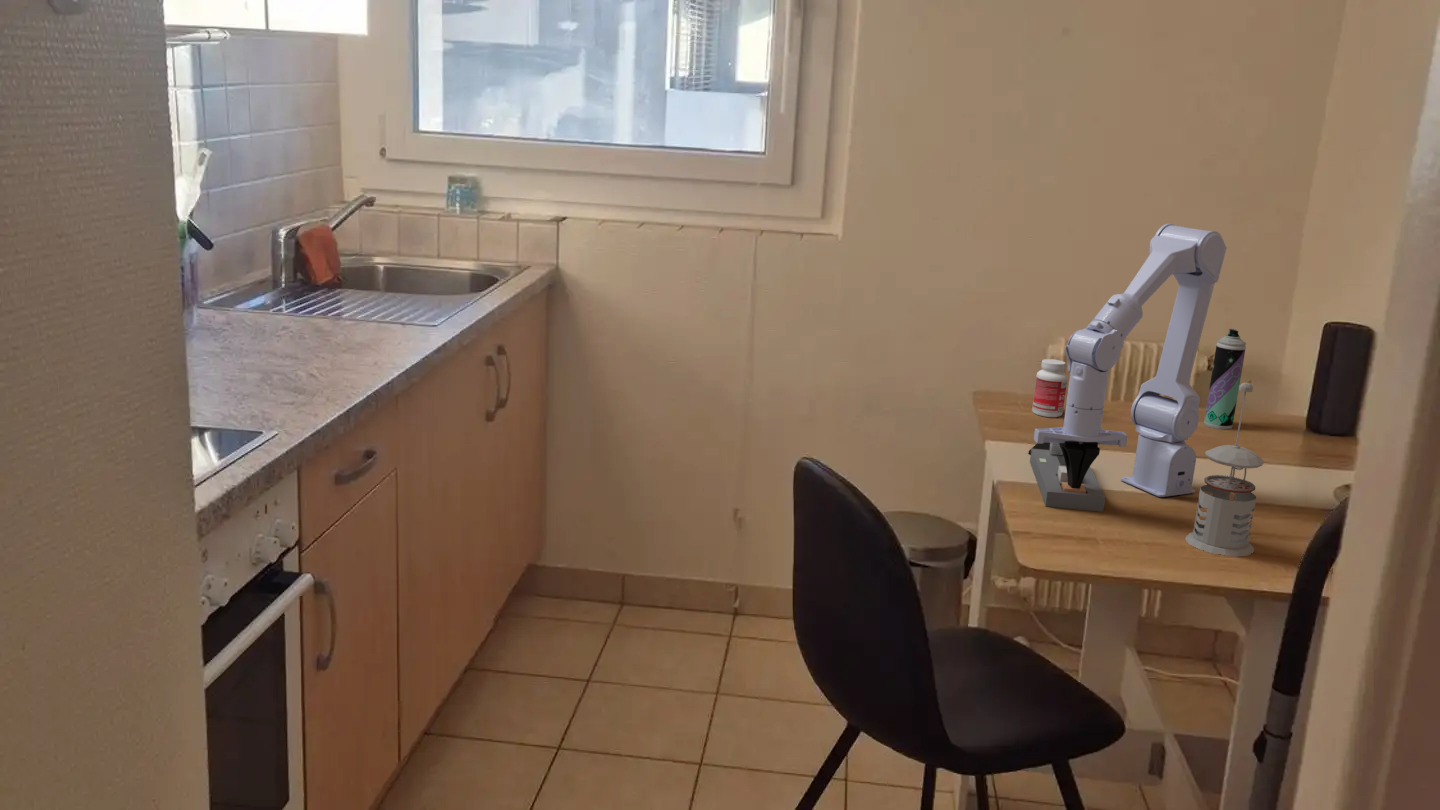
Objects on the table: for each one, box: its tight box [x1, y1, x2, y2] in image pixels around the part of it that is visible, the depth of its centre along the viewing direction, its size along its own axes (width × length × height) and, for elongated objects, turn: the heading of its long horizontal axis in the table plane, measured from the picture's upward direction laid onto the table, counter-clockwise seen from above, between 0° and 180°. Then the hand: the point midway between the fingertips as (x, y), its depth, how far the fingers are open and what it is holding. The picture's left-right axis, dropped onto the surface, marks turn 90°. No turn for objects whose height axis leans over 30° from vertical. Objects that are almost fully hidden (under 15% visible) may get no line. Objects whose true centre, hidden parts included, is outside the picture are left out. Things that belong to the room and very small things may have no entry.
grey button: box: [1057, 466, 1068, 482], centre depth 206 cm, size 3×3×2 cm
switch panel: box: [1029, 449, 1106, 513], centre depth 211 cm, size 24×9×3 cm, turn 172°
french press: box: [1185, 382, 1265, 558], centre depth 185 cm, size 10×12×25 cm
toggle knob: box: [1049, 443, 1063, 455], centre depth 220 cm, size 2×3×2 cm
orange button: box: [1061, 482, 1086, 493], centre depth 202 cm, size 3×3×2 cm
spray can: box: [1203, 328, 1247, 430], centre depth 252 cm, size 6×6×20 cm
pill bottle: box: [1031, 358, 1068, 418], centre depth 255 cm, size 6×6×11 cm
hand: (1073, 486), depth 202 cm, fingers closed, pressing on orange button
